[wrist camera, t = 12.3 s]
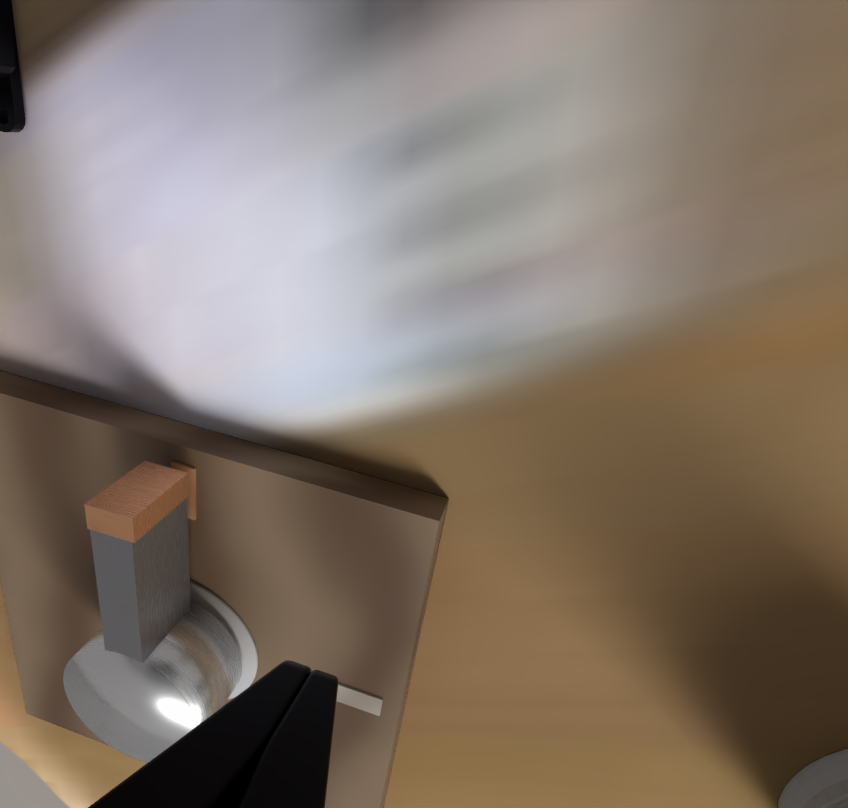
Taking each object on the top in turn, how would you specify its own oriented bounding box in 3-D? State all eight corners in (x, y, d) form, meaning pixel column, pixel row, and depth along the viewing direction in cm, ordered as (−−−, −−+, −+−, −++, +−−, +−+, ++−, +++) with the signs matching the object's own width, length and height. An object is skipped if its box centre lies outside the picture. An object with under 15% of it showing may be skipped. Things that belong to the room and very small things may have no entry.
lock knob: (242, 714, 28) (199, 782, 25) (126, 673, 29) (72, 734, 26) (244, 483, 22) (190, 536, 19) (101, 443, 23) (30, 487, 20)
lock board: (48, 691, 35) (22, 716, 33) (-5, 369, 26) (-42, 383, 24) (381, 818, 31) (370, 852, 30) (448, 498, 23) (438, 524, 21)
